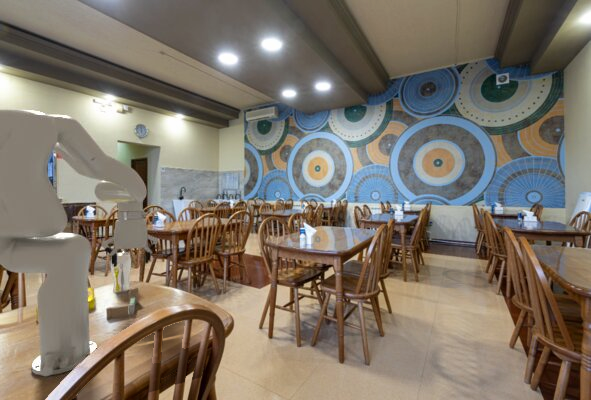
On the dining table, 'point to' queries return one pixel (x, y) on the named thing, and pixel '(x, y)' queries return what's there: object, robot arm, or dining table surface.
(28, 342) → the dining table surface
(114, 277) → the beer glass
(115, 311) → the flat brown box
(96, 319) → the dining table surface
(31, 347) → the dining table surface
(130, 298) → the hinged panel
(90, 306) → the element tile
